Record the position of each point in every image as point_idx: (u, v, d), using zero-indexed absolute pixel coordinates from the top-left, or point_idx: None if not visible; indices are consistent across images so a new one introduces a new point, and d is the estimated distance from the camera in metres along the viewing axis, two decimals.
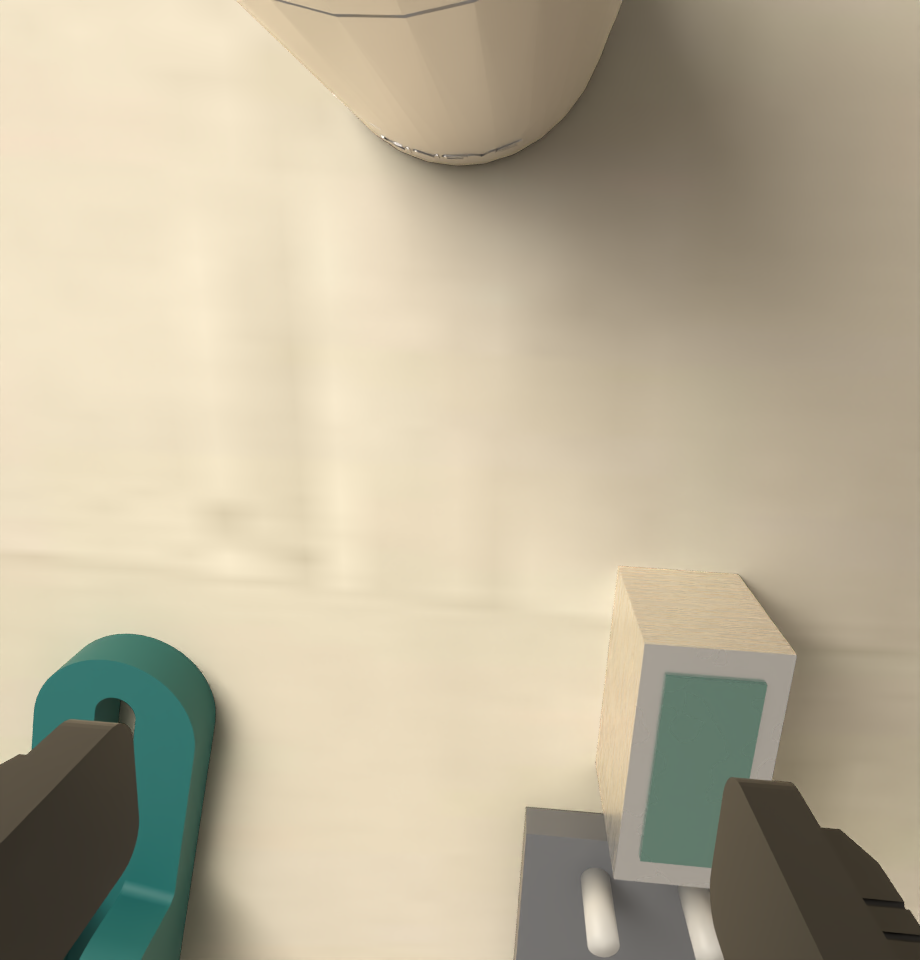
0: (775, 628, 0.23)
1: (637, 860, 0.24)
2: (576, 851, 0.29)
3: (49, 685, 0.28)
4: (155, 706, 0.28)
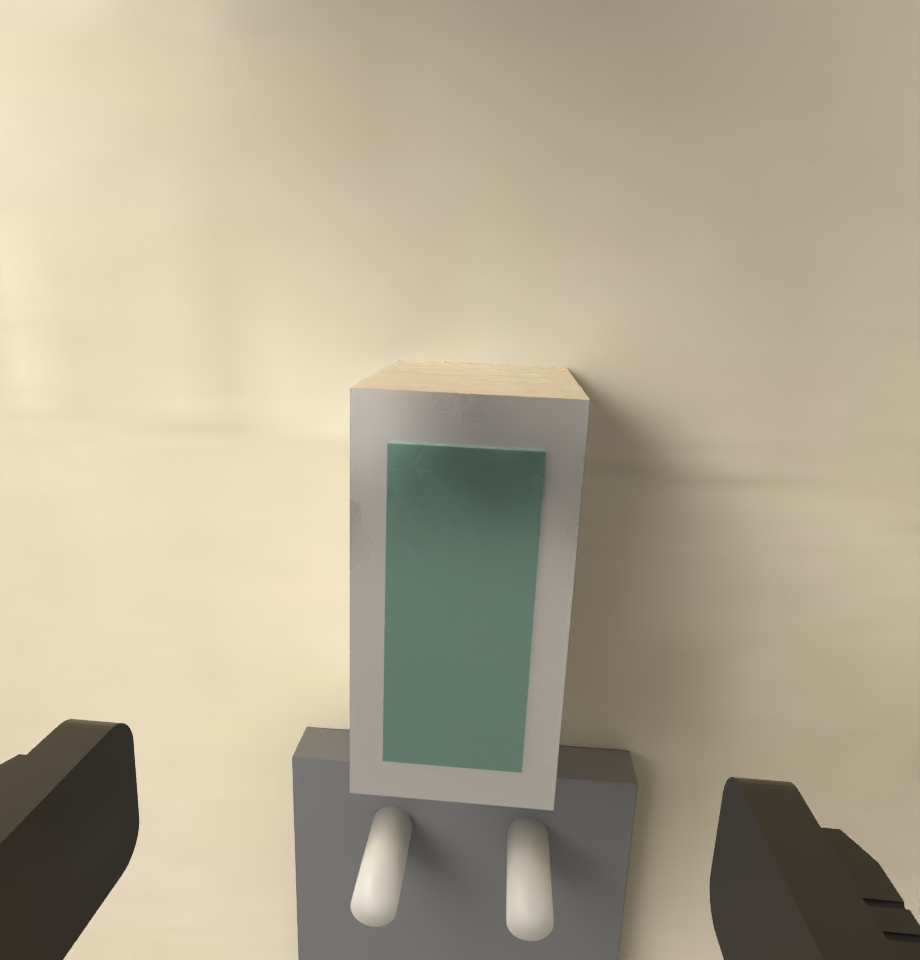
0: (578, 388, 0.15)
1: (380, 761, 0.15)
2: None
3: None
4: None
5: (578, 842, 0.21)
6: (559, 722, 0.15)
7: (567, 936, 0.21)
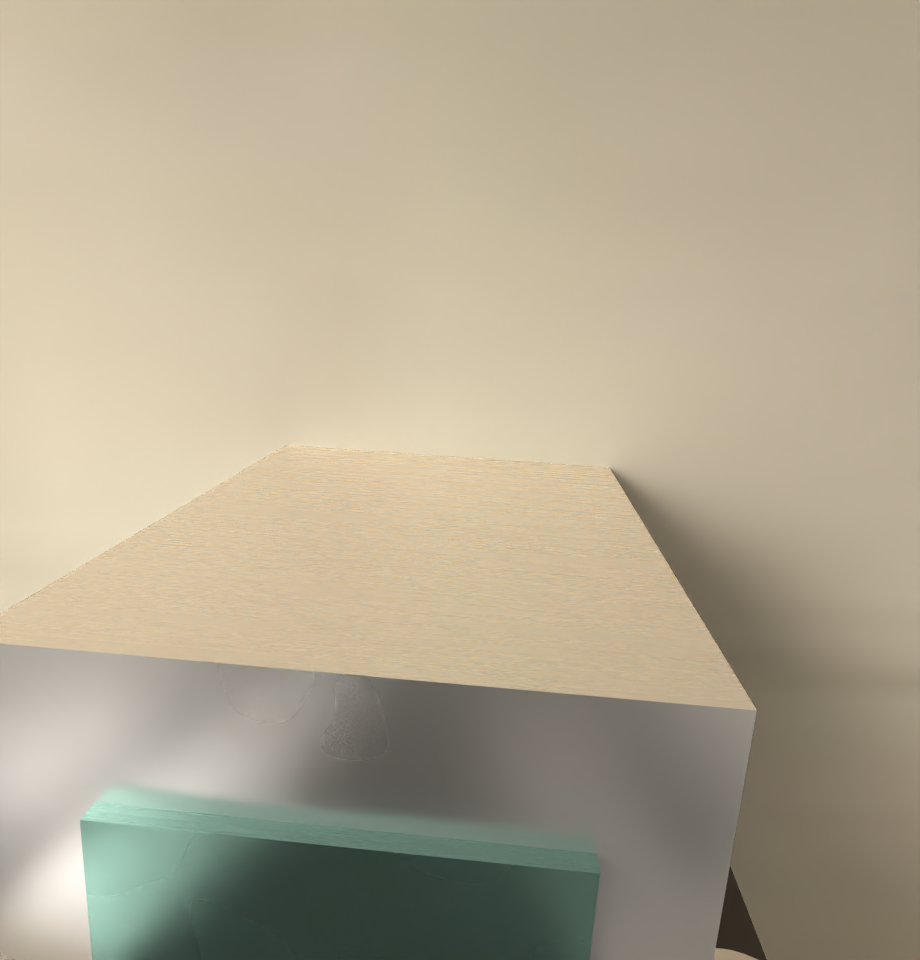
0: (675, 591, 0.05)
1: None
2: None
3: None
4: None
5: None
6: None
7: None
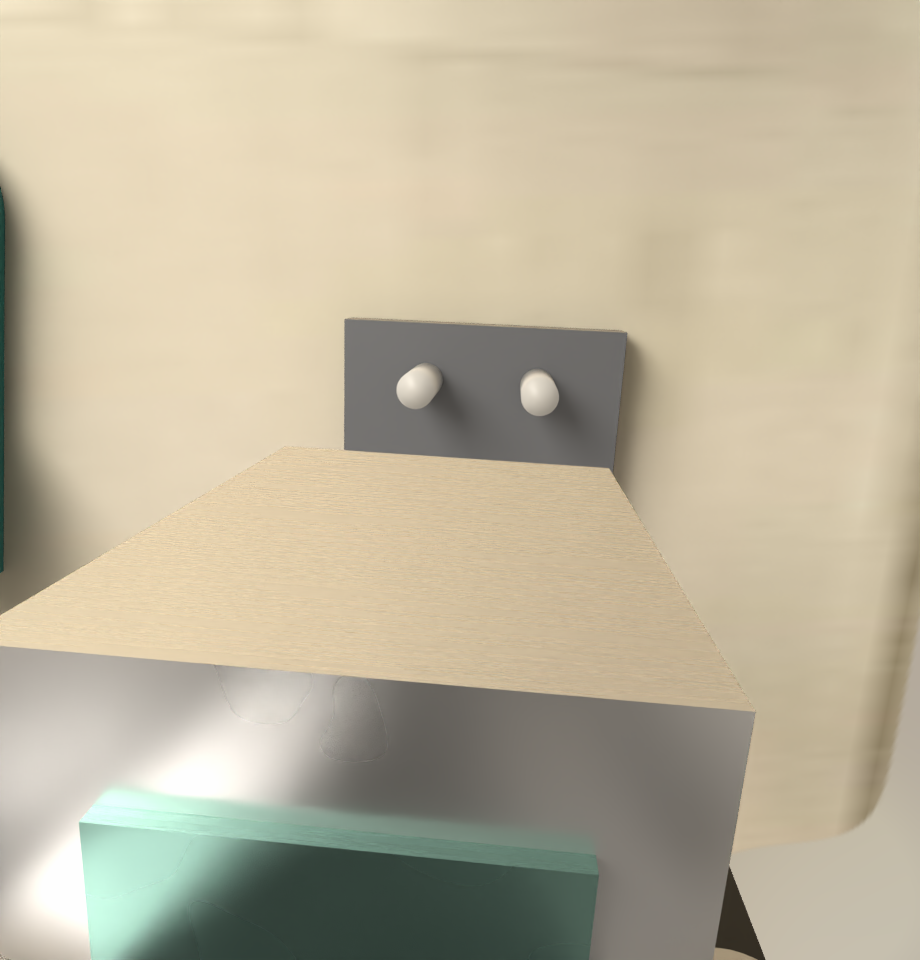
0: (674, 592, 0.05)
1: None
2: (403, 341, 0.25)
3: None
4: None
5: (578, 391, 0.25)
6: None
7: None
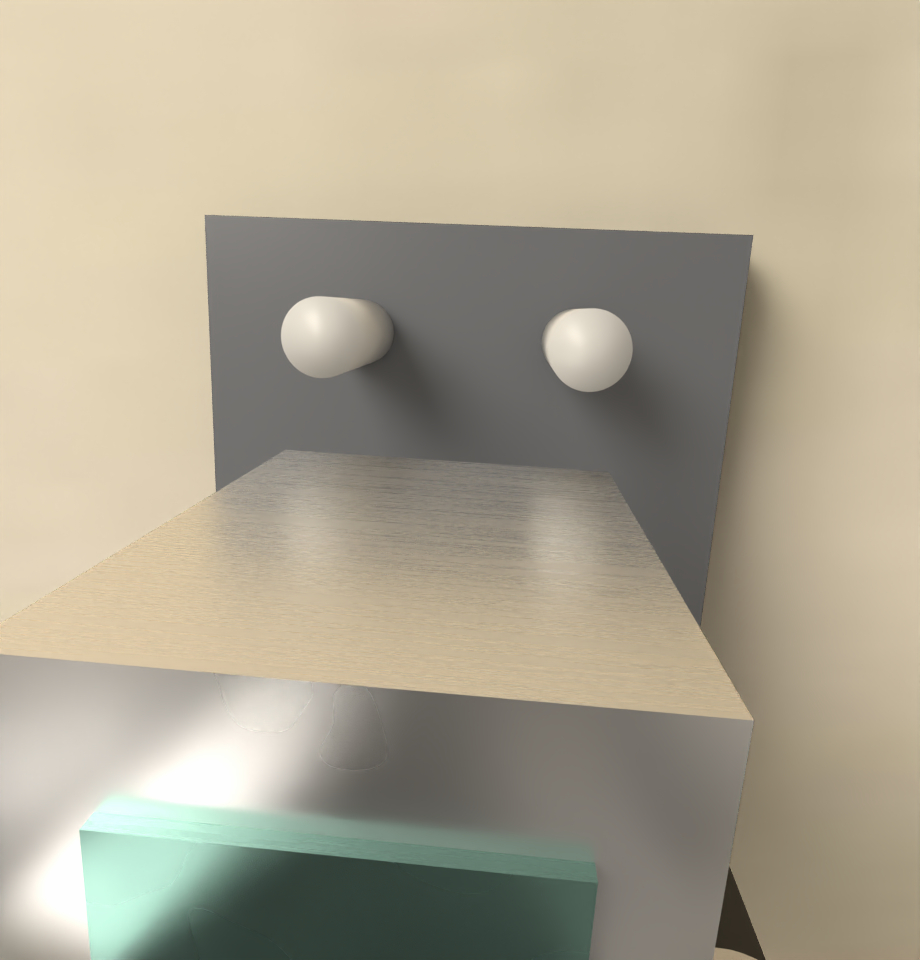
0: (673, 598, 0.05)
1: None
2: (317, 258, 0.13)
3: None
4: None
5: (654, 352, 0.13)
6: None
7: None
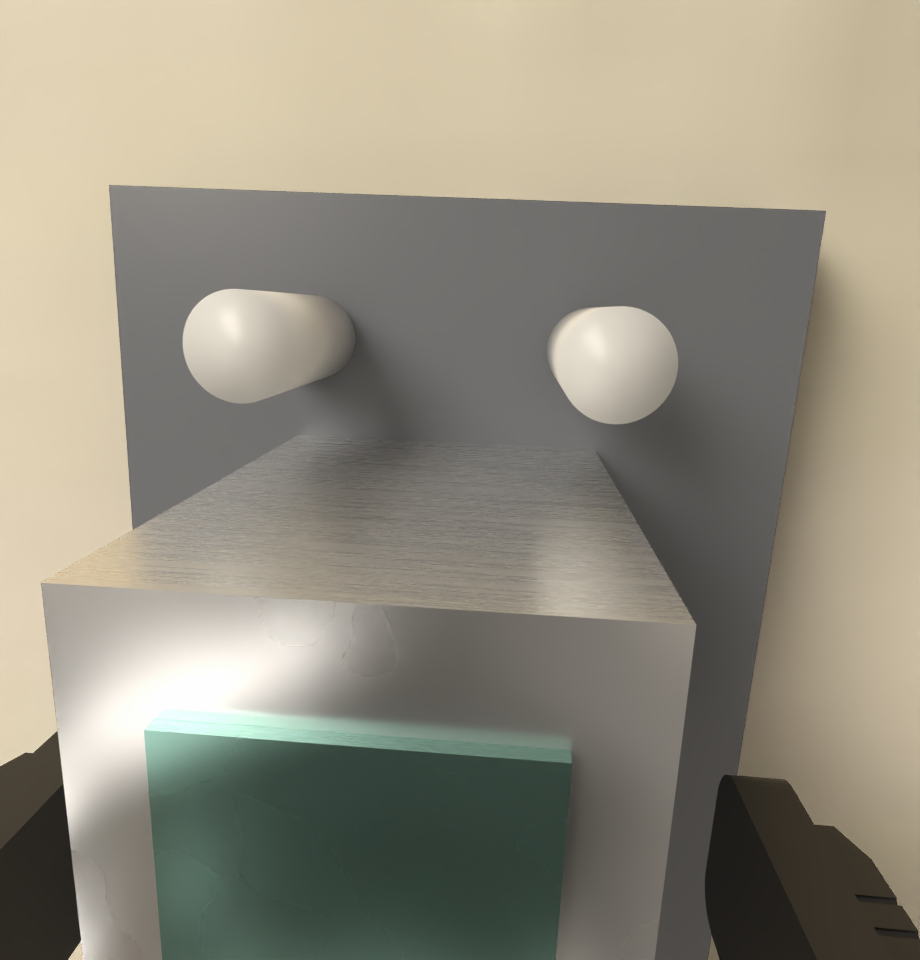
0: (641, 544, 0.06)
1: None
2: (255, 241, 0.10)
3: None
4: None
5: (692, 364, 0.10)
6: None
7: None
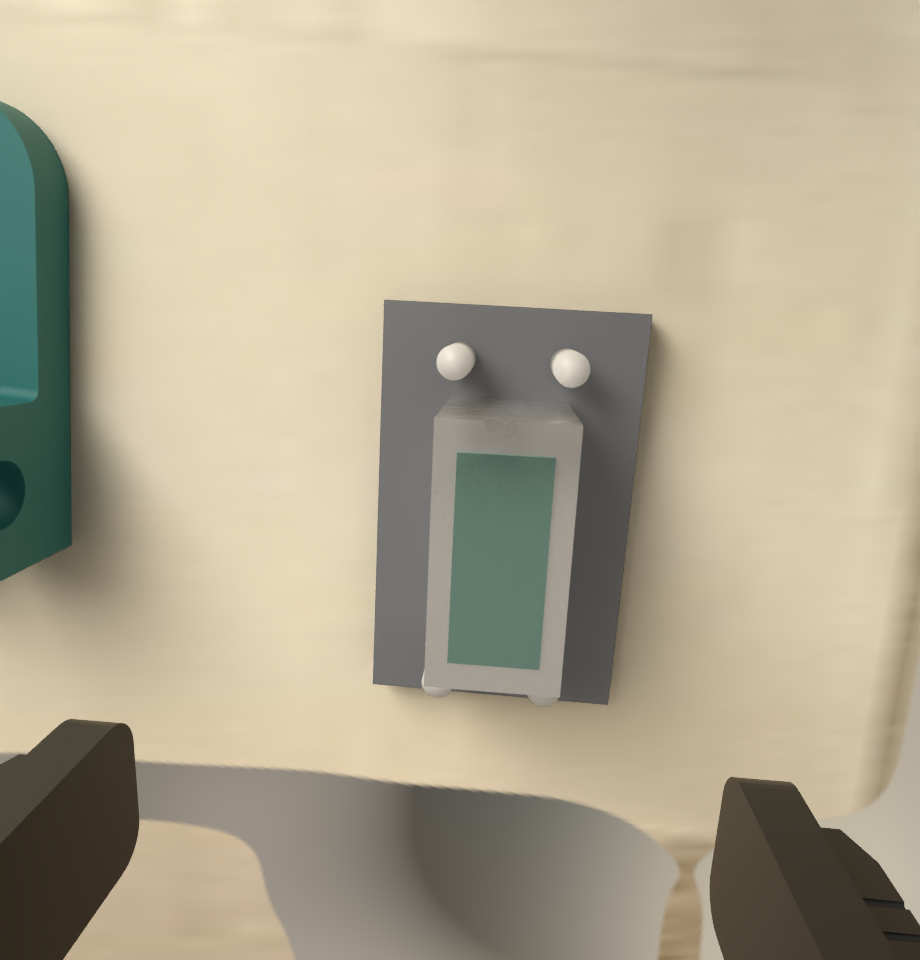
0: (576, 418, 0.23)
1: (445, 663, 0.23)
2: (439, 321, 0.27)
3: None
4: None
5: (605, 370, 0.26)
6: (564, 635, 0.23)
7: (594, 460, 0.27)
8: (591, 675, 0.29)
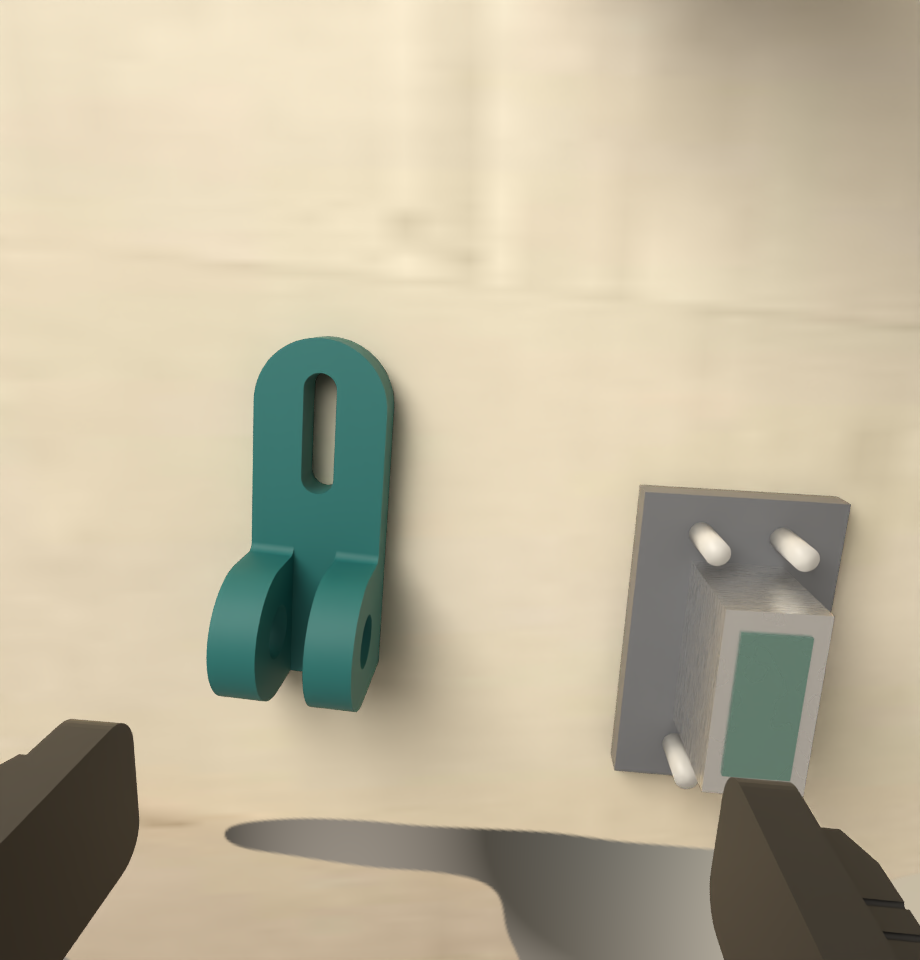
0: (816, 600, 0.31)
1: (719, 776, 0.32)
2: (686, 507, 0.35)
3: (266, 371, 0.35)
4: (352, 374, 0.34)
5: (812, 543, 0.35)
6: (809, 757, 0.31)
7: None
8: None
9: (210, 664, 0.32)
